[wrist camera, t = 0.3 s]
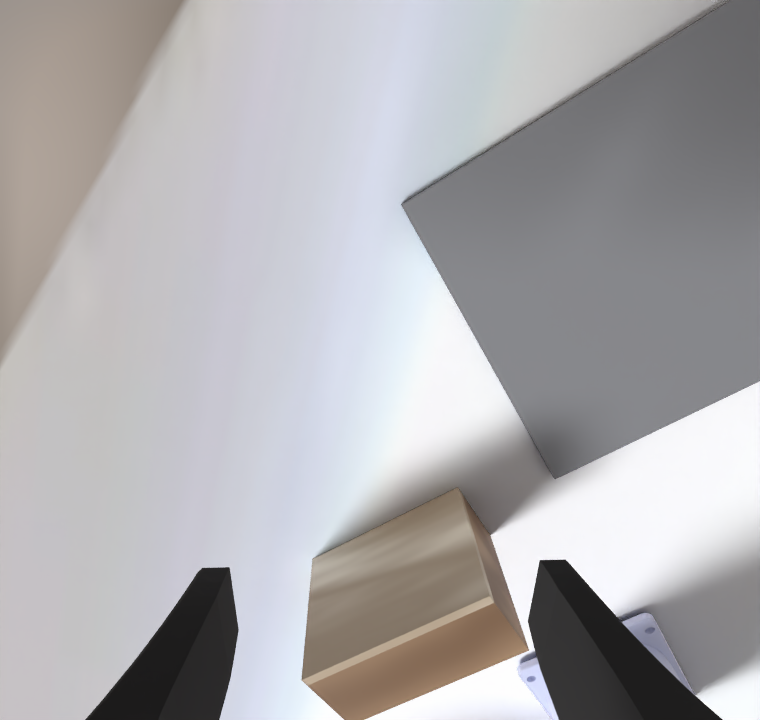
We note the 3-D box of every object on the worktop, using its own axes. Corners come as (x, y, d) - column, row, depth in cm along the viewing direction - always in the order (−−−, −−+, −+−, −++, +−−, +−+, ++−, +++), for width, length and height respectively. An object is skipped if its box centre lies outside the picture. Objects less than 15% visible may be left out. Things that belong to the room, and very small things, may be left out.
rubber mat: (866, 324, 21) (873, 326, 20) (552, 475, 23) (554, 479, 23) (800, -44, 15) (808, -47, 15) (401, 204, 18) (401, 205, 18)
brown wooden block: (489, 534, 25) (528, 650, 19) (350, 600, 26) (350, 725, 21) (457, 486, 23) (489, 596, 18) (312, 558, 25) (301, 680, 19)
